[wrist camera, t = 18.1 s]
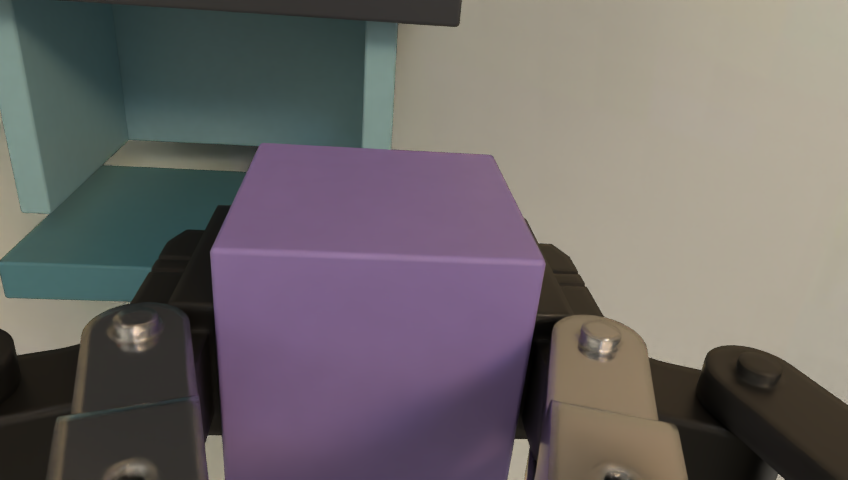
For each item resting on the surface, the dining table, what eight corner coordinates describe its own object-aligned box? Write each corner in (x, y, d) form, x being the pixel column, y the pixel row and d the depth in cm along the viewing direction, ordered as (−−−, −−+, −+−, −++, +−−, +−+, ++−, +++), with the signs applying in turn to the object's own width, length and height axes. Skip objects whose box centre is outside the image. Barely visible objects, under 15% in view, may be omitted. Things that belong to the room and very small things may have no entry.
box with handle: (395, 311, 30) (399, 439, 22) (120, 302, 29) (35, 433, 21) (426, -189, 21) (450, -235, 14) (43, -225, 20) (-135, -293, 13)
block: (264, 339, 14) (224, 502, 10) (259, 141, 12) (208, 249, 8) (468, 344, 14) (504, 502, 10) (494, 153, 12) (548, 261, 9)
